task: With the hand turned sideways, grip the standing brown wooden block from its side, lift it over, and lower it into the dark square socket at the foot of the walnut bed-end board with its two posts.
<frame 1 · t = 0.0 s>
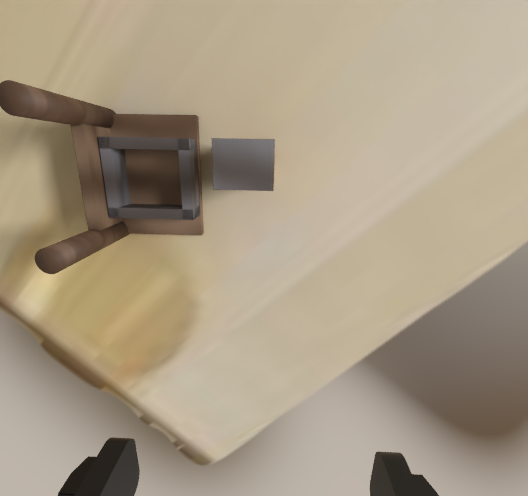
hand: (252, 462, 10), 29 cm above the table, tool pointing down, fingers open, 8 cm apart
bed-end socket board: (168, 177, 36), on the table
brown wooden block: (253, 162, 35), on the table
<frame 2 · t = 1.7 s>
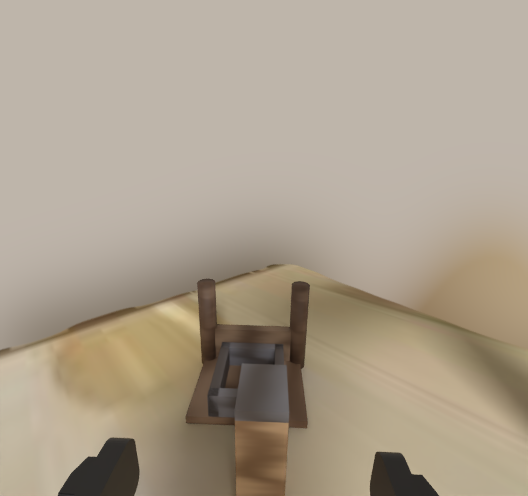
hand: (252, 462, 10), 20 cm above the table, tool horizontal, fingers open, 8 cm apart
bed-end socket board: (249, 397, 37), on the table
brown wooden block: (261, 488, 27), on the table
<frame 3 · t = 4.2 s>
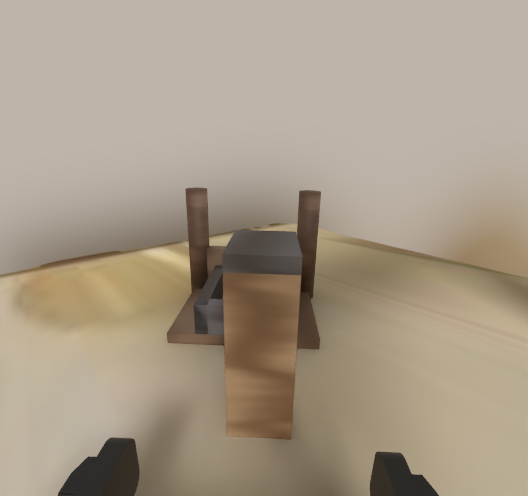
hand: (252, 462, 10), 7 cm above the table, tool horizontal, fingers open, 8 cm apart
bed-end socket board: (246, 322, 30), on the table
brown wooden block: (260, 404, 20), on the table
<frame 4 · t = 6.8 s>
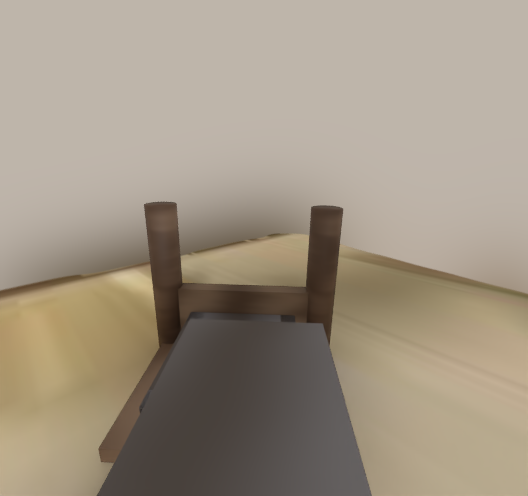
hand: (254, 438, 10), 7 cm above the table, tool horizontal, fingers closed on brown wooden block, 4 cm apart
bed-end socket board: (233, 408, 20), on the table
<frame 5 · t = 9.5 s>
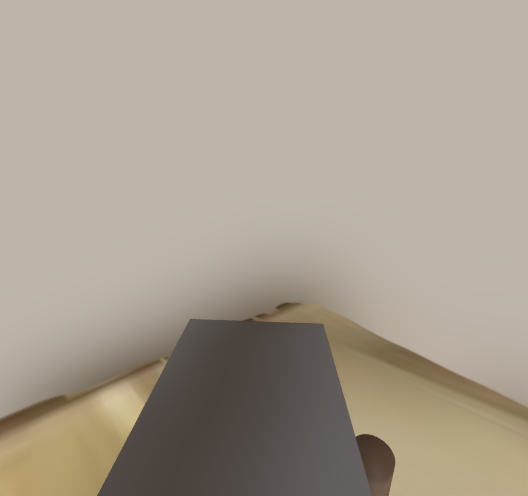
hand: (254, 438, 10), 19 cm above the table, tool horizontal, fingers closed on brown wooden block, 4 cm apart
when the fingers open (9 cm above the table, at t = 12.2 s): brown wooden block drops 1 cm, resting on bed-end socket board.
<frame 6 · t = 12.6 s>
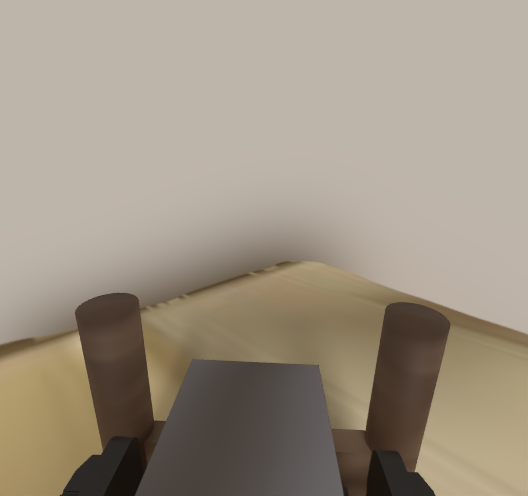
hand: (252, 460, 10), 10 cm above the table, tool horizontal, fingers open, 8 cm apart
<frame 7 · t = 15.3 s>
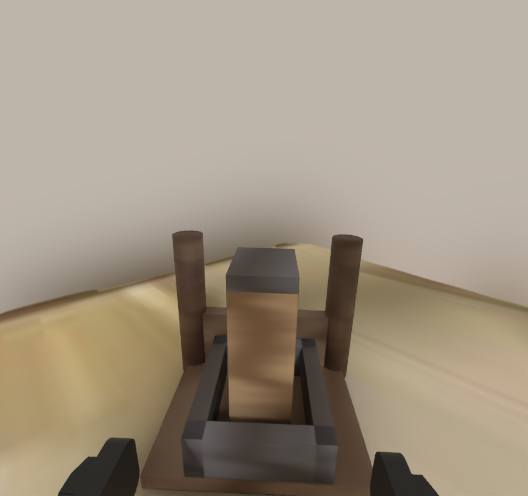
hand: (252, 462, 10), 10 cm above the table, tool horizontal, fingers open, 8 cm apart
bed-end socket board: (261, 432, 21), on the table
brown wooden block: (261, 410, 22), point 1 cm above the table, touching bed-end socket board
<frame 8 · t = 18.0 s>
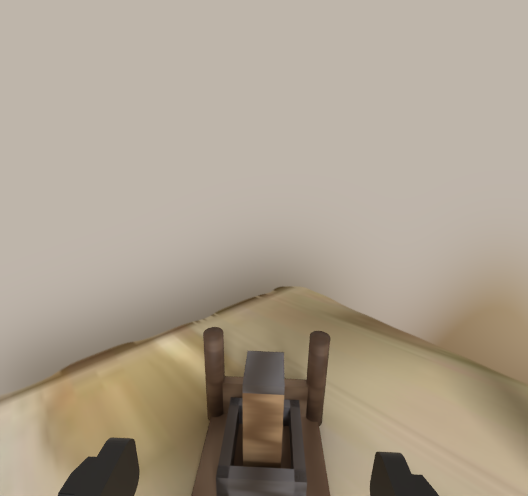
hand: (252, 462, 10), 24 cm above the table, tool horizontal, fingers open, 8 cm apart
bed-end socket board: (262, 468, 33), on the table
brown wooden block: (262, 453, 33), point 1 cm above the table, touching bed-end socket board
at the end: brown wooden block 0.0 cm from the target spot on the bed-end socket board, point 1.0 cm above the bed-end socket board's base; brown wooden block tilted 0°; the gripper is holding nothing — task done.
